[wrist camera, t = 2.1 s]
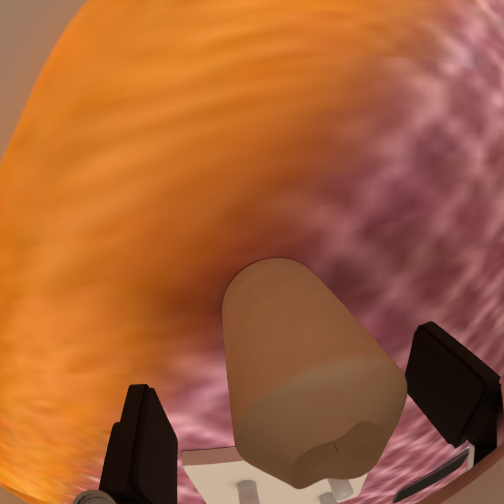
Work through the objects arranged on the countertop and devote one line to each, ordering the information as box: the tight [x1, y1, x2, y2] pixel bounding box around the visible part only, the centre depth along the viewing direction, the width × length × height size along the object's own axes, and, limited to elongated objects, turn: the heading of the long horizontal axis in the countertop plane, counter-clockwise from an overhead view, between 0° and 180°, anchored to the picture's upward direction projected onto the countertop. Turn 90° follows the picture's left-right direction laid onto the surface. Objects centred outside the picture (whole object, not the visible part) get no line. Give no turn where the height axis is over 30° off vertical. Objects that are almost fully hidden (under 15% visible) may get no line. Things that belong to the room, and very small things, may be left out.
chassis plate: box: [182, 447, 368, 504], centre depth 19 cm, size 16×16×5 cm
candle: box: [222, 258, 407, 489], centre depth 11 cm, size 6×6×10 cm
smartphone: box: [392, 449, 469, 503], centre depth 30 cm, size 7×1×15 cm
